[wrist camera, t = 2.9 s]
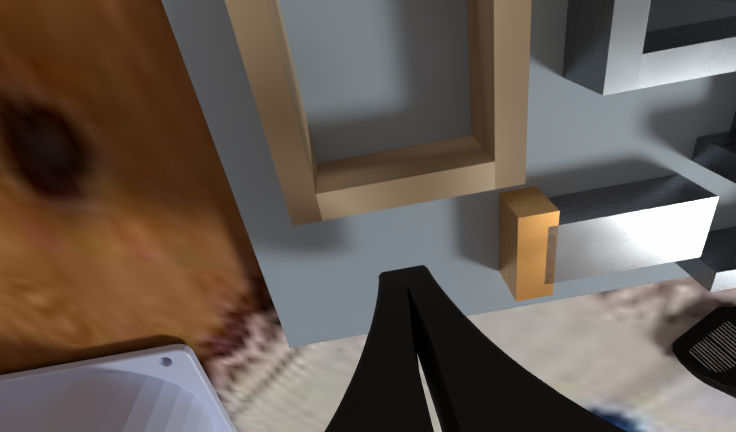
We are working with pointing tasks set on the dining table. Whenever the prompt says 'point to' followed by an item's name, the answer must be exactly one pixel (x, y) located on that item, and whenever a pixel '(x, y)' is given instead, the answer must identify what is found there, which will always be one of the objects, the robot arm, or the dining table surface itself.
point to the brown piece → (403, 165)
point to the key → (599, 231)
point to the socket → (652, 68)
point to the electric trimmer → (711, 350)
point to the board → (431, 124)
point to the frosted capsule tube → (726, 0)
